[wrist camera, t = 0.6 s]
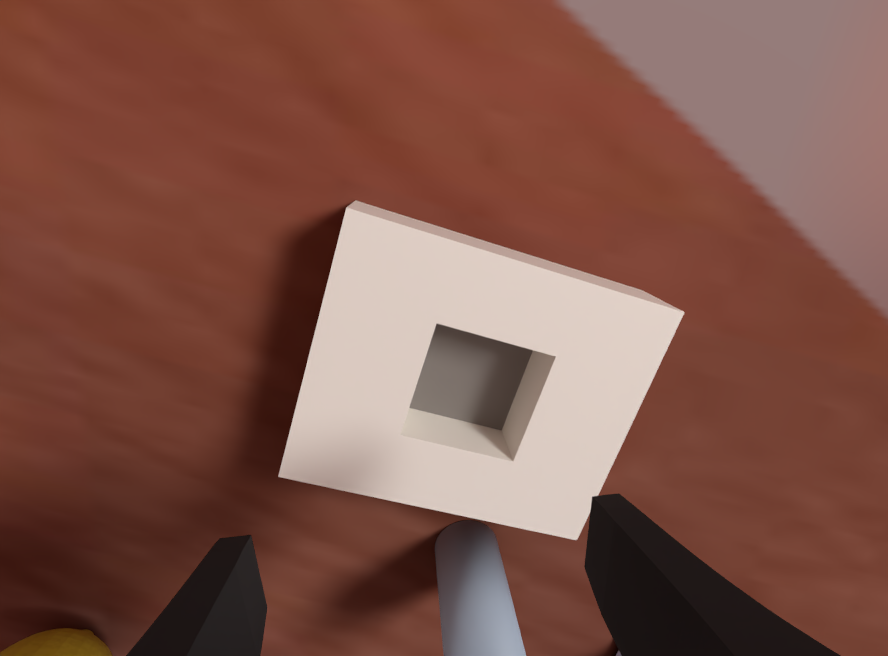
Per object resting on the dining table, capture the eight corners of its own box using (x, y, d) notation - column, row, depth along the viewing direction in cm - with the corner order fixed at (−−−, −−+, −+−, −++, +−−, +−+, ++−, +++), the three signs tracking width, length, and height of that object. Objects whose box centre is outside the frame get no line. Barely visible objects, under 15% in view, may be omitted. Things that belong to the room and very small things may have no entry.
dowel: (485, 576, 24) (516, 730, 18) (426, 565, 24) (436, 719, 17) (505, 527, 23) (546, 669, 17) (445, 514, 23) (463, 656, 16)
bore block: (554, 490, 23) (576, 540, 20) (296, 431, 21) (278, 476, 18) (642, 290, 20) (684, 312, 17) (355, 200, 18) (346, 207, 15)
